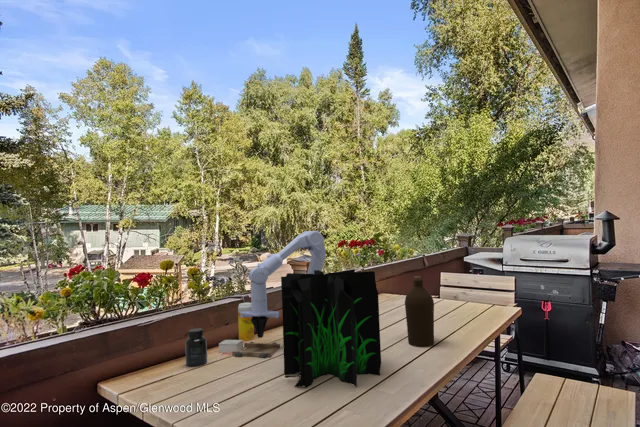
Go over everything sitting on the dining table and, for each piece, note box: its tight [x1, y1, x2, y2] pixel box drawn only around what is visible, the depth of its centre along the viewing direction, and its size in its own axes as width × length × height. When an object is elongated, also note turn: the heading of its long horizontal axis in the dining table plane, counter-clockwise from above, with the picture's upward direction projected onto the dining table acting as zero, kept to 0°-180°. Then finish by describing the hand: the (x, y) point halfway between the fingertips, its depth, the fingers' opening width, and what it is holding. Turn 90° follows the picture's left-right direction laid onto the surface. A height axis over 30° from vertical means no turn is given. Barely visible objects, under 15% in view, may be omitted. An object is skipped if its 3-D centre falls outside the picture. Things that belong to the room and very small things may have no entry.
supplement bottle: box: [184, 327, 208, 368], centre depth 125 cm, size 7×7×12 cm
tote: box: [218, 339, 244, 354], centre depth 137 cm, size 7×5×3 cm
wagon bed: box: [231, 341, 281, 359], centre depth 134 cm, size 14×12×3 cm
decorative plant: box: [280, 268, 382, 389], centre depth 117 cm, size 29×30×30 cm
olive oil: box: [404, 275, 435, 348], centre depth 141 cm, size 11×11×25 cm
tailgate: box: [220, 346, 245, 356], centre depth 136 cm, size 1×8×6 cm
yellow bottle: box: [237, 302, 255, 342], centre depth 152 cm, size 6×6×15 cm
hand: (260, 337), depth 138 cm, fingers closed
